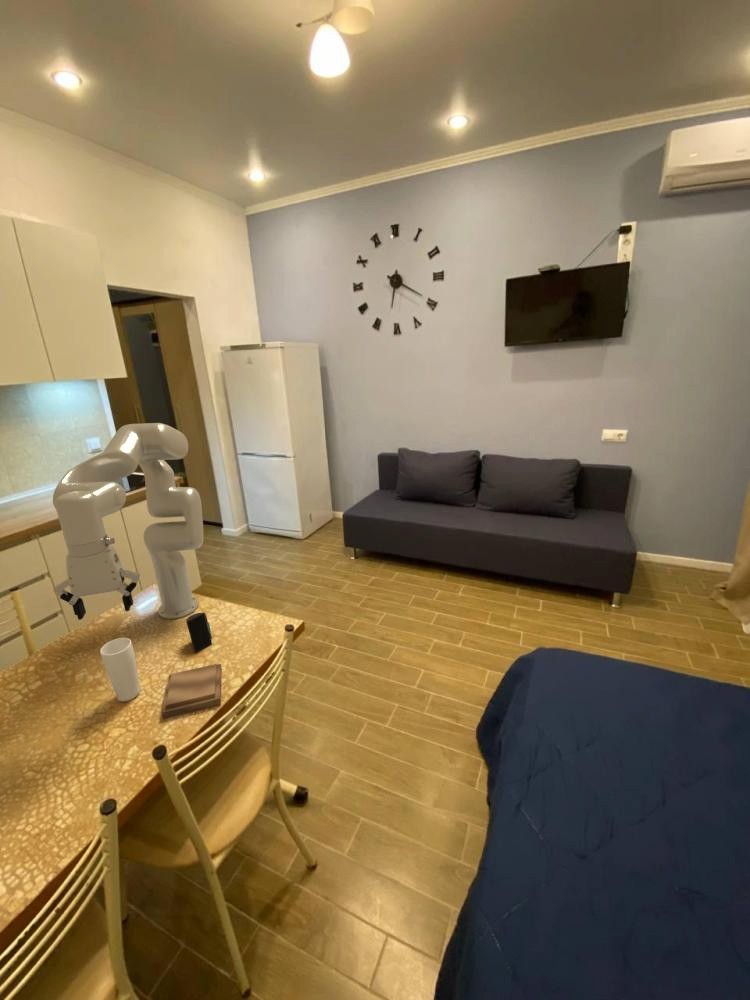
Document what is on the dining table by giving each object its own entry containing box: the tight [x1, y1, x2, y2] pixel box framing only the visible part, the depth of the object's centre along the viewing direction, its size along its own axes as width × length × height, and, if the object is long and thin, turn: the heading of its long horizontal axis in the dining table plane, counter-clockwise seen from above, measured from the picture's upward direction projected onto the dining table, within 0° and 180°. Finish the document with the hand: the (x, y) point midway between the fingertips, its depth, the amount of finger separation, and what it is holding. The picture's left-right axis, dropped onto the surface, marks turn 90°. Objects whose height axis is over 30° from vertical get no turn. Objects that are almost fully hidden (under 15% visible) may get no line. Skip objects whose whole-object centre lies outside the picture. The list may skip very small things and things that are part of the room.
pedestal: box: [161, 663, 223, 720], centre depth 107 cm, size 13×13×3 cm
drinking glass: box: [99, 637, 141, 703], centre depth 105 cm, size 7×7×15 cm
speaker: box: [185, 612, 213, 654], centre depth 125 cm, size 8×6×10 cm
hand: (105, 612), depth 99 cm, fingers open, 9 cm apart
